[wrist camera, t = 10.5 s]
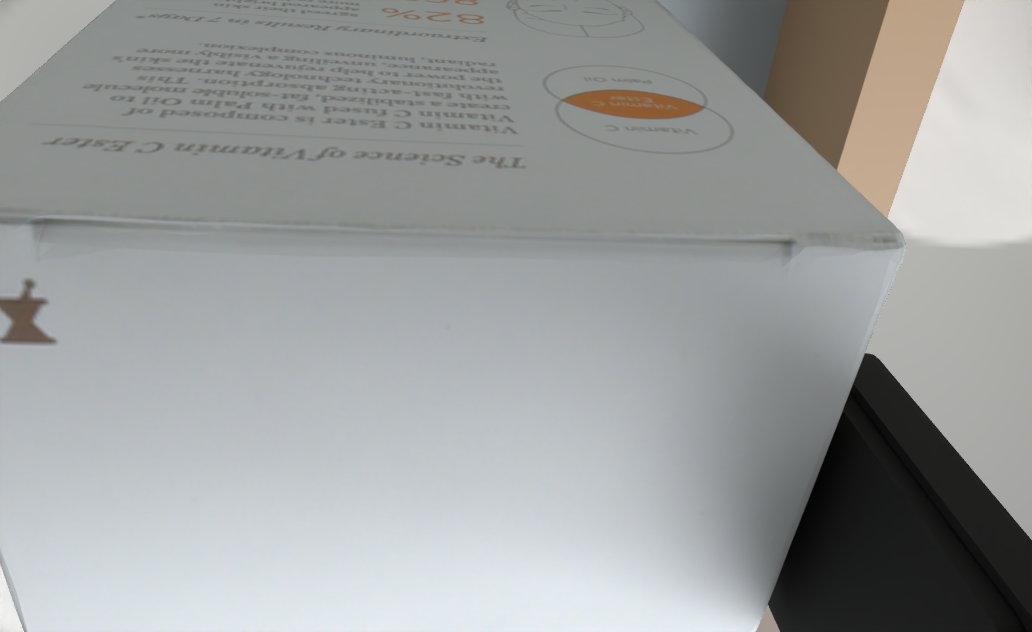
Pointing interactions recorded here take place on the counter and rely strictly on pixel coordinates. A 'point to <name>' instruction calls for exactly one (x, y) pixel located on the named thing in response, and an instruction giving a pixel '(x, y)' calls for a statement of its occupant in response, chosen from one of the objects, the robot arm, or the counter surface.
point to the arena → (836, 72)
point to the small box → (414, 321)
